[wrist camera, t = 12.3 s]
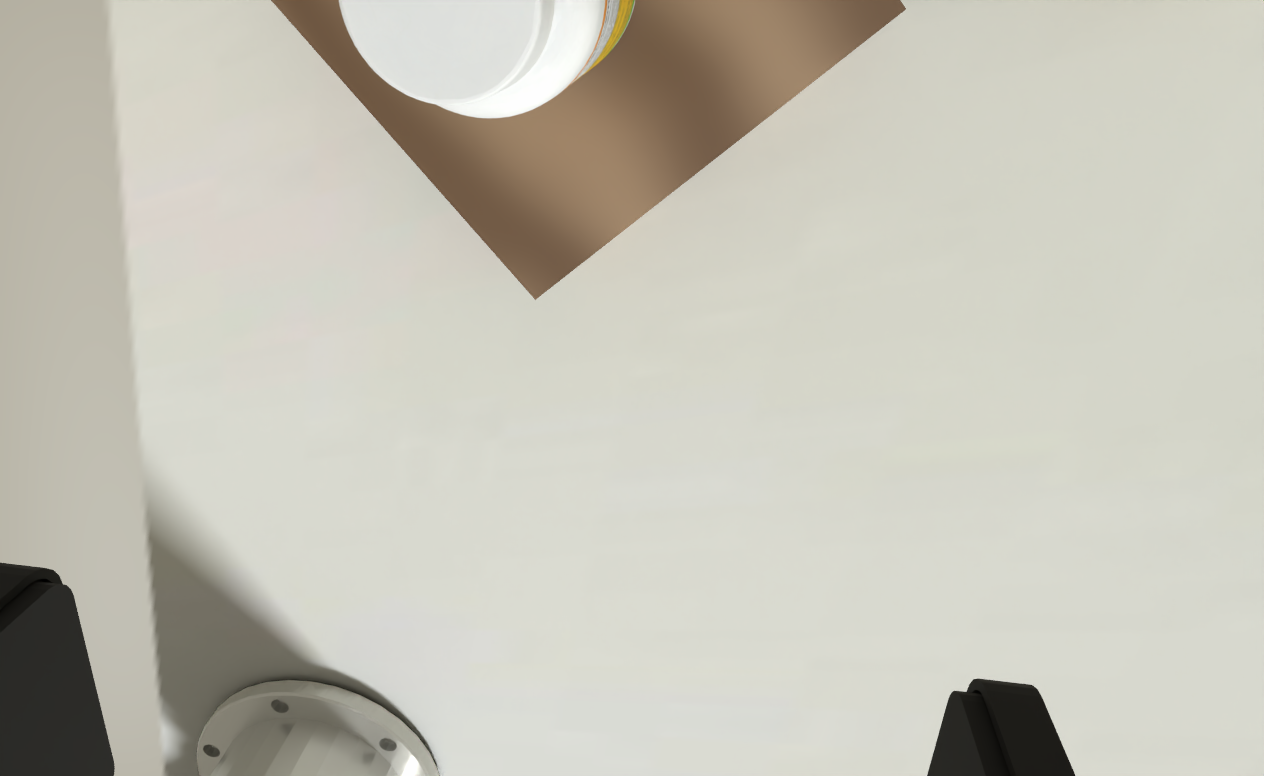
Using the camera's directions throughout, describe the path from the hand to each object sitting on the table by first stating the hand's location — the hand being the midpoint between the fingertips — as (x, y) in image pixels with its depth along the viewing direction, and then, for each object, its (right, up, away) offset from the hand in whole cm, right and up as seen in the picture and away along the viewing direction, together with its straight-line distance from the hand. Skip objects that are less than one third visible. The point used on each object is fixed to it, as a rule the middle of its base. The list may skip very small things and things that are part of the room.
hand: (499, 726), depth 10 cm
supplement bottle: (-1, +15, +16) cm, 22 cm away
